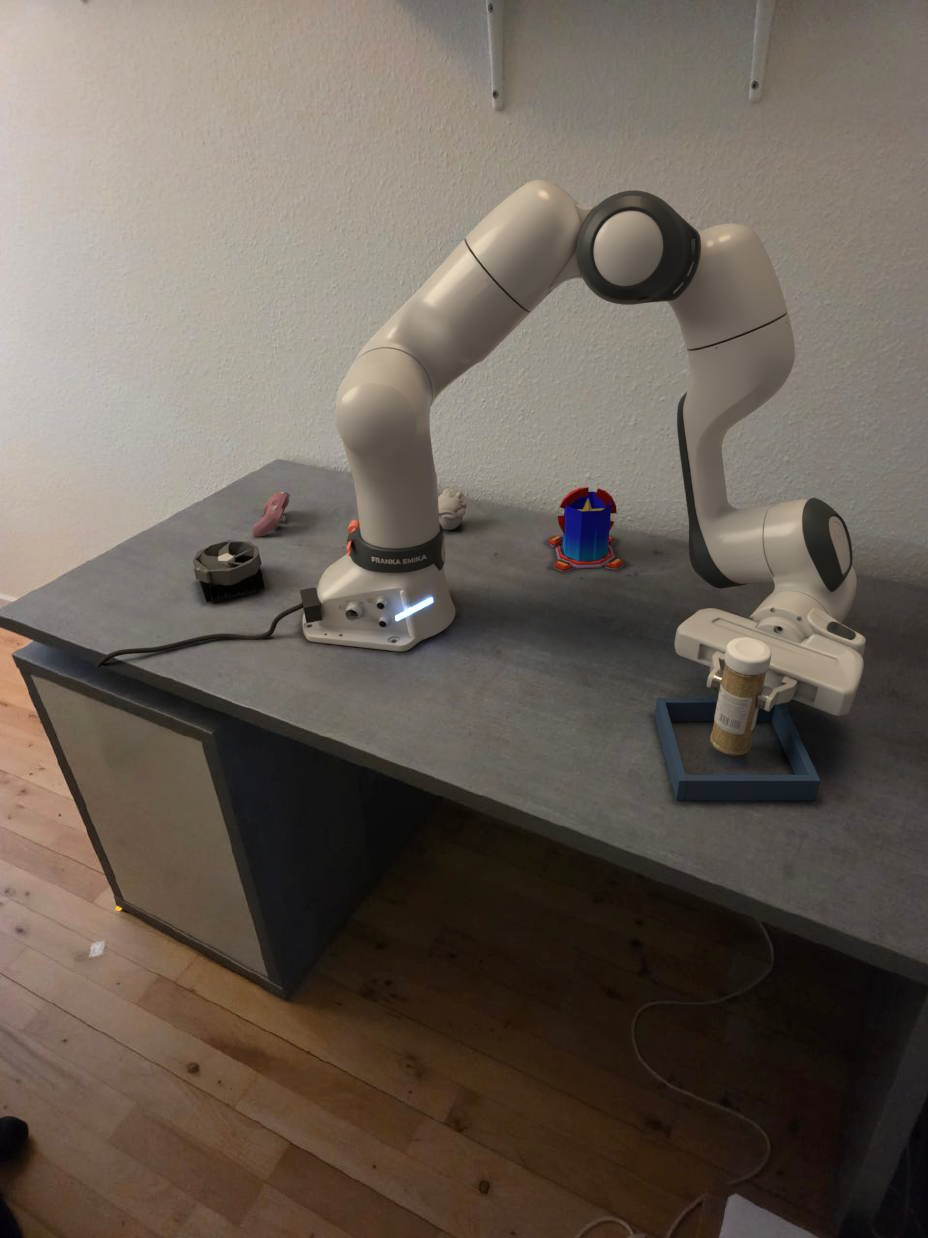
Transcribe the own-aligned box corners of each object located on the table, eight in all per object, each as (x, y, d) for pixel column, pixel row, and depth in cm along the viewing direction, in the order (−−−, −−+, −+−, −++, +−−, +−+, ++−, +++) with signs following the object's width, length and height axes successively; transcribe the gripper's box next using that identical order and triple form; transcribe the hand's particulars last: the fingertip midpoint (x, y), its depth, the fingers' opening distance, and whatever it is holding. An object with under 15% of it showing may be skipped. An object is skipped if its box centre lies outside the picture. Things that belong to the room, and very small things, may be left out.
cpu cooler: (251, 533, 129) (265, 561, 121) (257, 564, 132) (271, 592, 124) (186, 547, 125) (196, 577, 118) (194, 578, 128) (204, 609, 121)
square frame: (675, 800, 86) (679, 780, 84) (654, 716, 97) (656, 697, 95) (814, 800, 85) (820, 780, 83) (776, 716, 96) (781, 697, 95)
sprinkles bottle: (759, 746, 89) (782, 650, 82) (731, 763, 87) (752, 666, 80) (727, 724, 93) (746, 630, 85) (700, 740, 91) (717, 645, 83)
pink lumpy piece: (274, 545, 140) (286, 513, 137) (249, 535, 139) (261, 502, 136) (285, 520, 149) (297, 489, 145) (262, 510, 147) (273, 479, 144)
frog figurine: (475, 525, 141) (474, 489, 137) (449, 540, 137) (447, 503, 133) (449, 516, 144) (448, 480, 141) (423, 530, 140) (421, 494, 136)
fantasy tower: (613, 535, 136) (619, 470, 129) (627, 570, 126) (633, 501, 120) (545, 538, 136) (547, 473, 129) (553, 573, 126) (555, 504, 120)
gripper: (706, 584, 98) (653, 637, 89) (881, 642, 87) (841, 708, 78) (699, 626, 101) (647, 681, 92) (866, 687, 90) (826, 755, 81)
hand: (737, 694), depth 85 cm, fingers closed on sprinkles bottle, 4 cm apart
